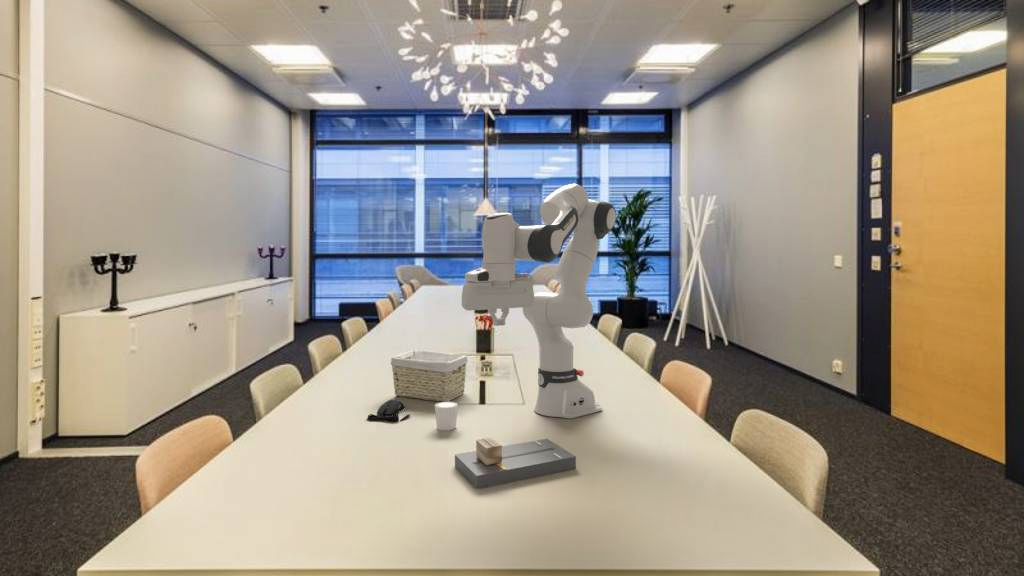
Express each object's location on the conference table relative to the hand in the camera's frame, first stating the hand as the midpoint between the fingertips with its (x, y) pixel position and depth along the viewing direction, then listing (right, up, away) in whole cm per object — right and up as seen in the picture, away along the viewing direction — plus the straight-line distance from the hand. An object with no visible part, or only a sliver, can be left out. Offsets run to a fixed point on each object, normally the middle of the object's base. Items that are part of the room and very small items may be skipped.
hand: (499, 325), depth 148 cm
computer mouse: (-34, -31, +30) cm, 55 cm away
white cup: (-16, -32, +17) cm, 40 cm away
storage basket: (-26, -29, +53) cm, 66 cm away
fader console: (+4, -34, -13) cm, 37 cm away
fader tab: (-2, -31, -16) cm, 35 cm away
